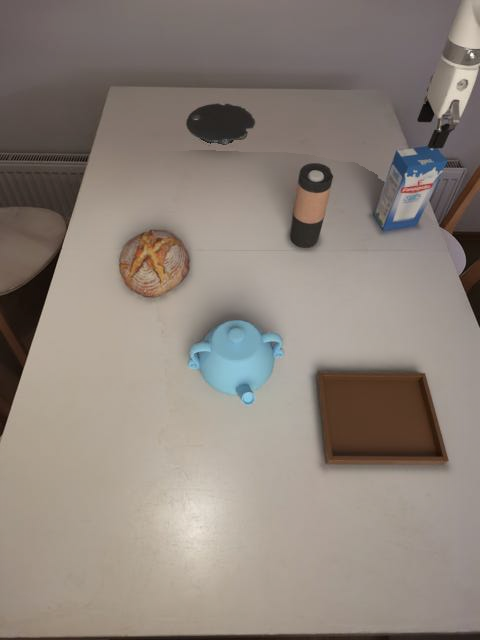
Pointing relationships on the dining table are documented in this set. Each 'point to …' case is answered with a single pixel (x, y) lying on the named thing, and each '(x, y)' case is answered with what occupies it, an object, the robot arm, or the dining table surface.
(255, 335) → the teapot
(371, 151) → the dining table surface
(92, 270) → the dining table surface
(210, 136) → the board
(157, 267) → the bread
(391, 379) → the tray
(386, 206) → the milk carton
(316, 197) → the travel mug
